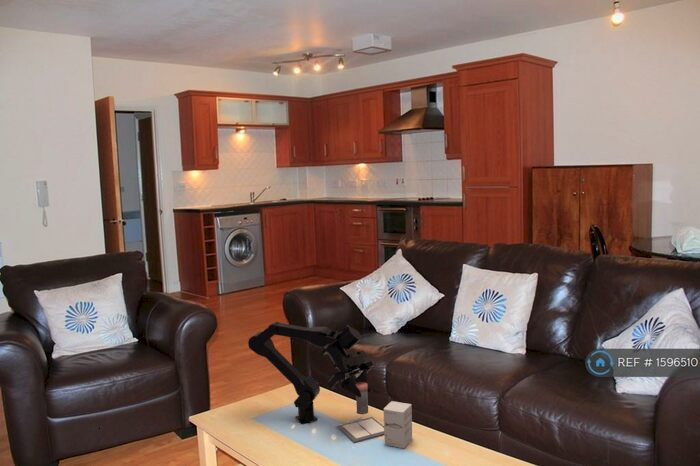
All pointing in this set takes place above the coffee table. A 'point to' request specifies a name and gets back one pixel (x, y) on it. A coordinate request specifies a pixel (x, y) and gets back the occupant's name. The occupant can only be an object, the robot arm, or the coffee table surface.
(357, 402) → the ball
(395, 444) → the supplement box
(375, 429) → the grey framed board
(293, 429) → the coffee table surface
